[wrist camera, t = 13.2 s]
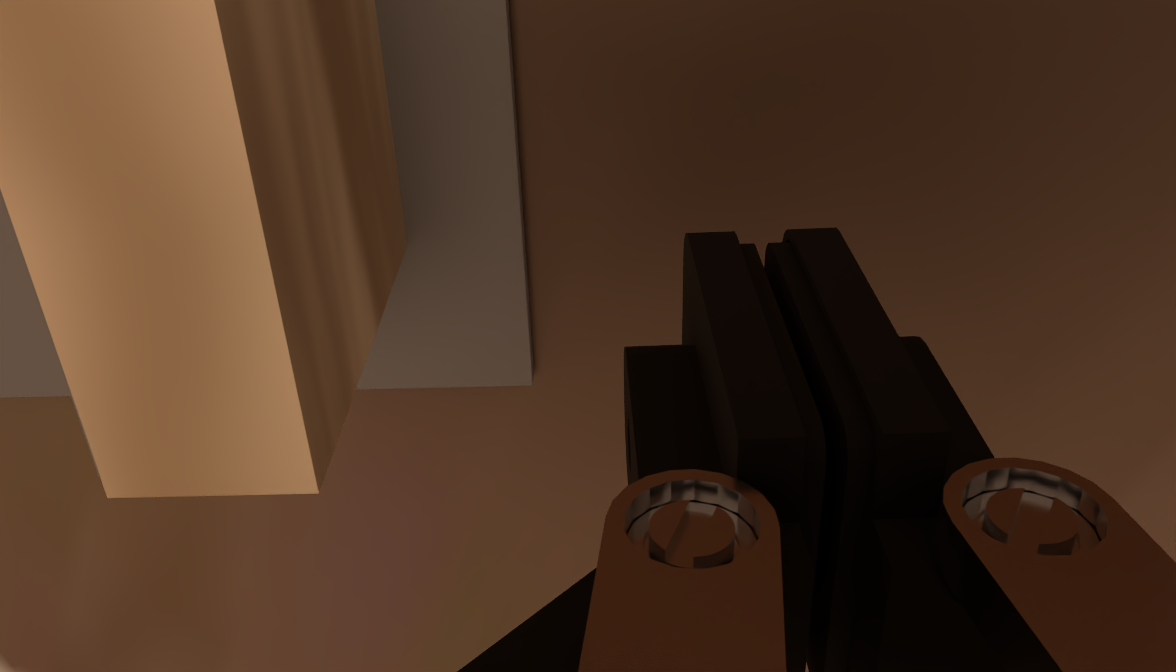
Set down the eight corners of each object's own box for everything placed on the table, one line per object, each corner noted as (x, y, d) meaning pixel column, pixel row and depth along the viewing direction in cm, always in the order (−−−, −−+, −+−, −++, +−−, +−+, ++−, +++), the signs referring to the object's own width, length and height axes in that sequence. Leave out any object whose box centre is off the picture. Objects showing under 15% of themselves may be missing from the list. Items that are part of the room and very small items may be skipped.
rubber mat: (482, -366, 17) (479, -369, 16) (533, 370, 24) (532, 385, 23) (-615, -324, 17) (-654, -326, 16) (-238, 388, 24) (-257, 403, 24)
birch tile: (357, -123, 18) (209, -22, 11) (407, 245, 21) (319, 493, 15) (176, -117, 18) (-83, -13, 11) (256, 249, 21) (97, 498, 15)
